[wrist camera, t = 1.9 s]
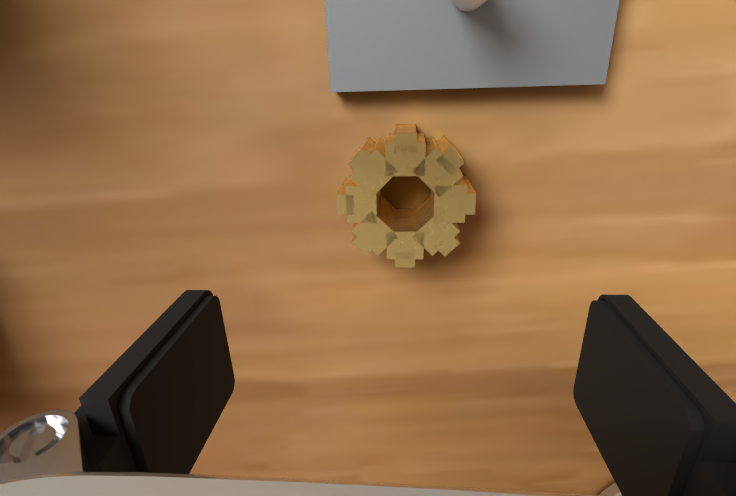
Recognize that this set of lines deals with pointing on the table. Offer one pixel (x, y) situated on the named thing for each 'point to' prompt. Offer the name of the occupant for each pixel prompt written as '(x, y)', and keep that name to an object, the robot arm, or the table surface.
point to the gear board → (467, 43)
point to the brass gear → (406, 226)
